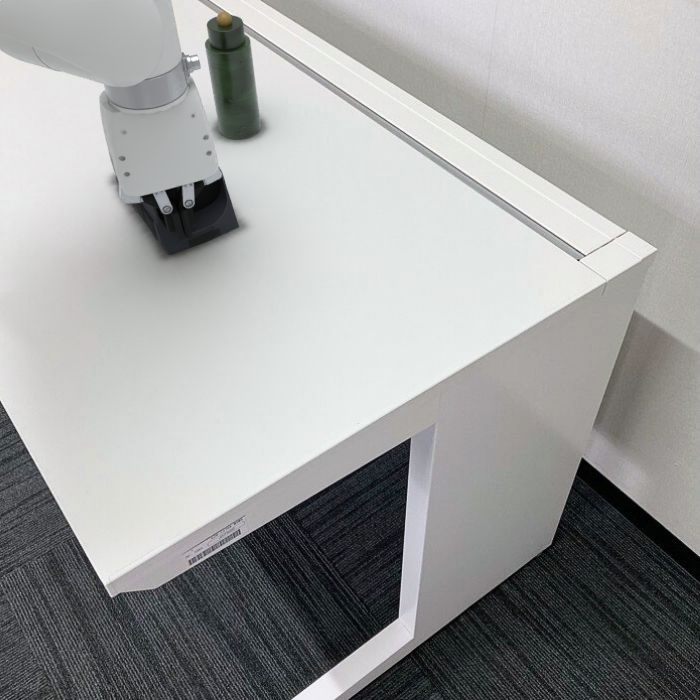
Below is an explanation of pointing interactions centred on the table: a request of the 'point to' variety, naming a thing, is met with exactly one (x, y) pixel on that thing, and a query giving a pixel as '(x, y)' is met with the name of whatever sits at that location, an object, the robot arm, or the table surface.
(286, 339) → the table surface
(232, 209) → the sight
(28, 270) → the table surface
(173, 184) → the robot arm
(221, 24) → the pepper mill
